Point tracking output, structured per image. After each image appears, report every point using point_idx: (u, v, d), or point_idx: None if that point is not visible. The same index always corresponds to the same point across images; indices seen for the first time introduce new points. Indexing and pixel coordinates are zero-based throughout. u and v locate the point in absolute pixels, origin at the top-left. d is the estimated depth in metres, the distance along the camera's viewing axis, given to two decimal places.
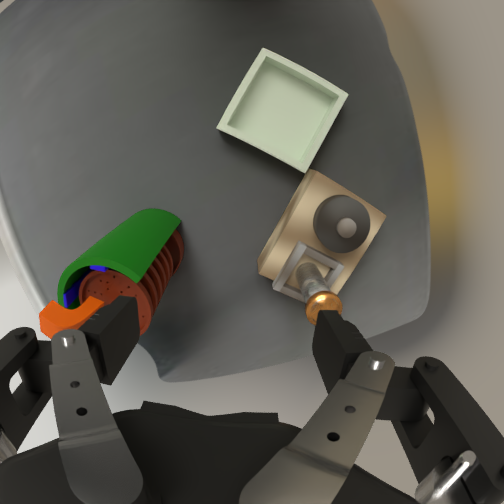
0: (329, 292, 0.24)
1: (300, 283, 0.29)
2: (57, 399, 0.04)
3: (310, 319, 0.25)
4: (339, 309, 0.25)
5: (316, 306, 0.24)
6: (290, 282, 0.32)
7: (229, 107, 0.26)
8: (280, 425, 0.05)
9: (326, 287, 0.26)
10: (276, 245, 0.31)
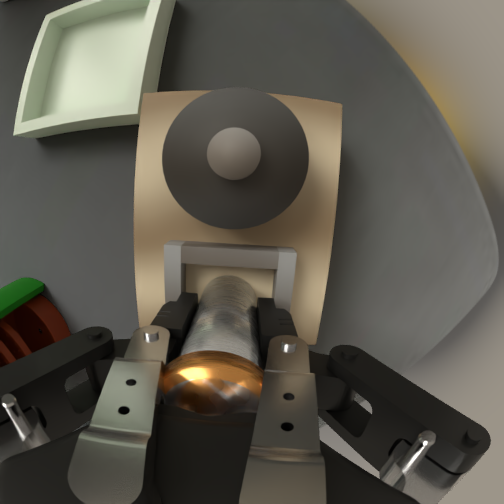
0: (197, 357, 0.07)
1: None
2: (106, 391, 0.05)
3: None
4: None
5: None
6: None
7: (20, 101, 0.12)
8: None
9: (217, 334, 0.08)
10: (137, 268, 0.14)
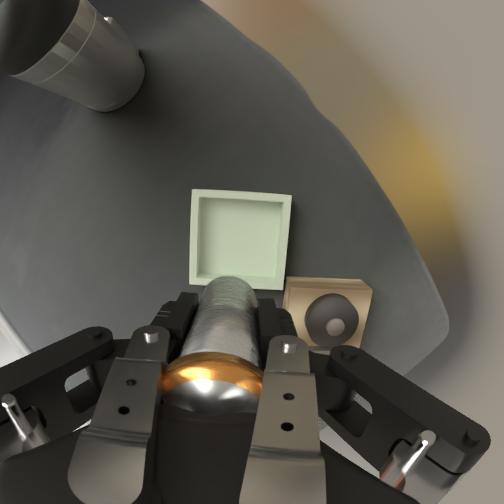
0: (197, 359, 0.07)
1: None
2: (106, 391, 0.05)
3: None
4: None
5: None
6: None
7: (191, 262, 0.31)
8: None
9: (217, 335, 0.08)
10: None
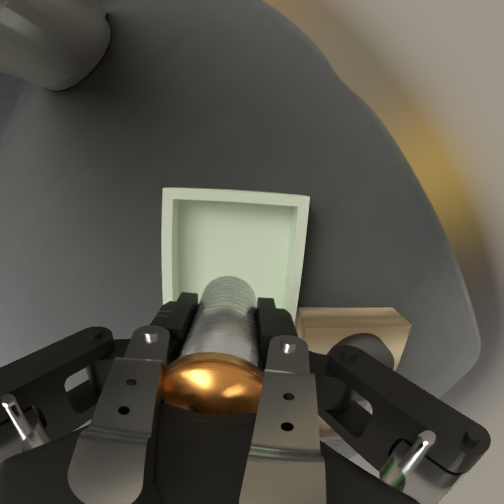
0: (197, 359, 0.07)
1: None
2: (106, 391, 0.05)
3: None
4: None
5: None
6: (321, 428, 0.24)
7: (164, 292, 0.21)
8: None
9: (217, 336, 0.08)
10: None
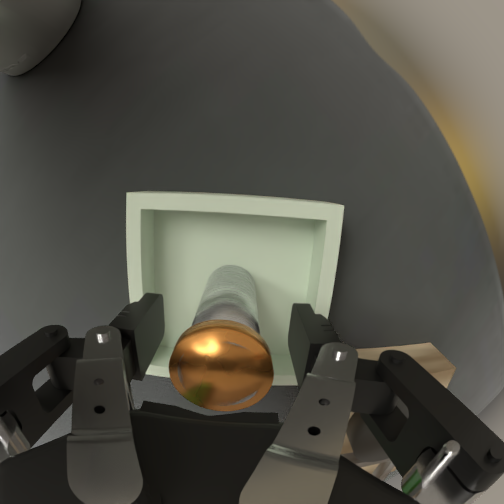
0: (208, 324, 0.08)
1: None
2: (77, 394, 0.04)
3: (199, 402, 0.09)
4: (261, 361, 0.08)
5: (189, 371, 0.08)
6: None
7: None
8: (280, 425, 0.05)
9: (223, 309, 0.10)
10: None
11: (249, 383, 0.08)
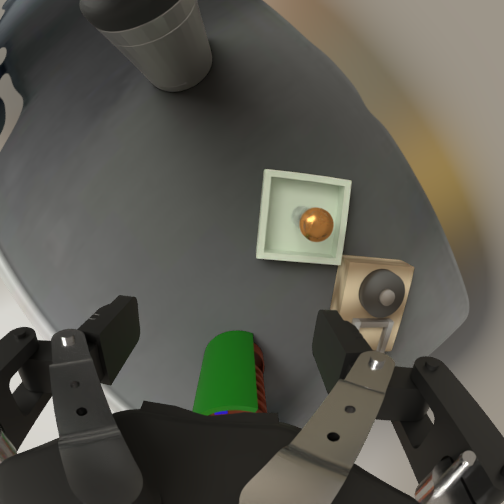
0: (313, 207, 0.27)
1: (295, 221, 0.32)
2: (57, 399, 0.04)
3: (308, 237, 0.27)
4: (330, 219, 0.27)
5: (307, 223, 0.27)
6: None
7: (260, 237, 0.33)
8: (280, 425, 0.05)
9: None
10: None
11: (326, 228, 0.27)
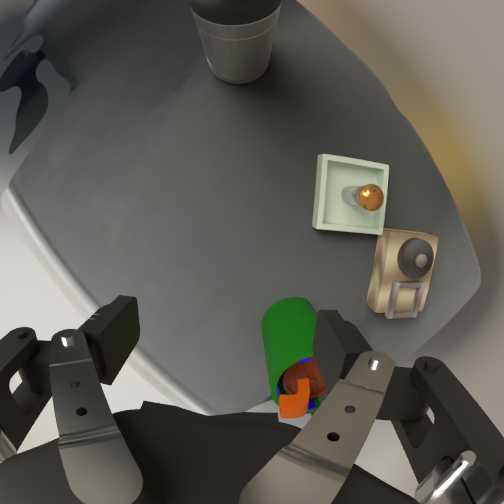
0: (368, 184, 0.32)
1: (348, 197, 0.37)
2: (57, 399, 0.04)
3: (366, 207, 0.32)
4: (381, 193, 0.32)
5: (365, 195, 0.32)
6: (395, 308, 0.40)
7: (319, 210, 0.38)
8: (280, 425, 0.05)
9: None
10: (380, 290, 0.40)
11: (378, 200, 0.32)
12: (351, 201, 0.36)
